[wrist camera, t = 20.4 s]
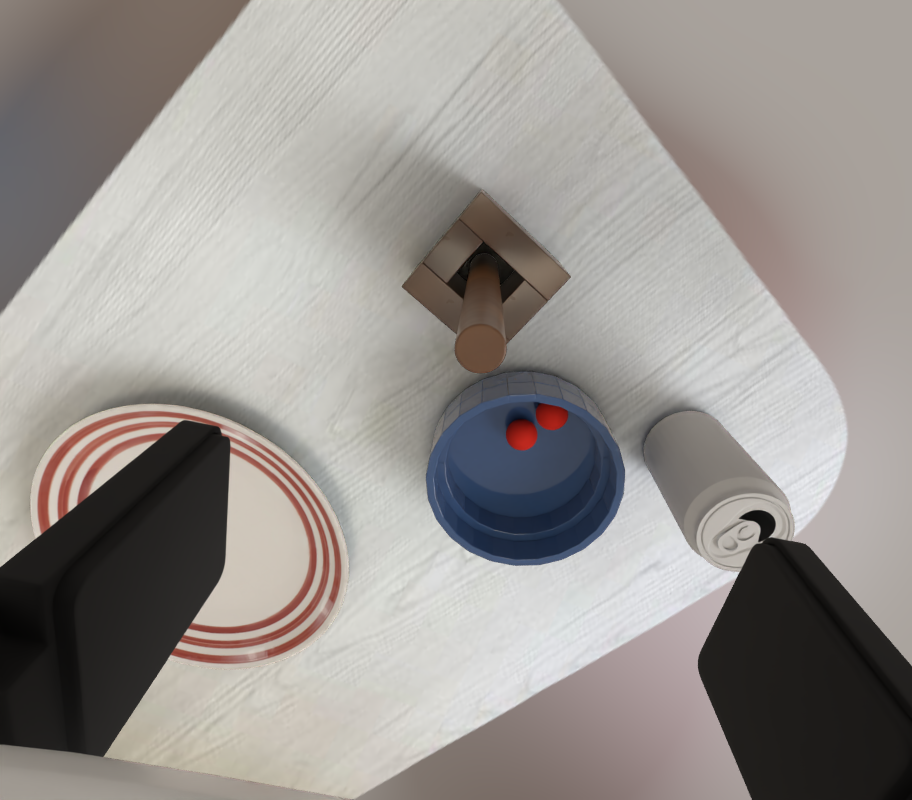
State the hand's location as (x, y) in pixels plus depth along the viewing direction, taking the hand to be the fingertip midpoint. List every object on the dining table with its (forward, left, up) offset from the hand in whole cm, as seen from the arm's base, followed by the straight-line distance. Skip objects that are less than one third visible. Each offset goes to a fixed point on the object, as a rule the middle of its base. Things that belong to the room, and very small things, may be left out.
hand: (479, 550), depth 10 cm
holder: (0, 0, -32) cm, 32 cm away
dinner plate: (+3, +34, -32) cm, 47 cm away
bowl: (-12, +9, -32) cm, 36 cm away
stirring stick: (0, 0, -32) cm, 32 cm away
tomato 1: (-10, +6, -30) cm, 33 cm away
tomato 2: (-12, +5, -31) cm, 33 cm away
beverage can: (-21, 0, -32) cm, 39 cm away
